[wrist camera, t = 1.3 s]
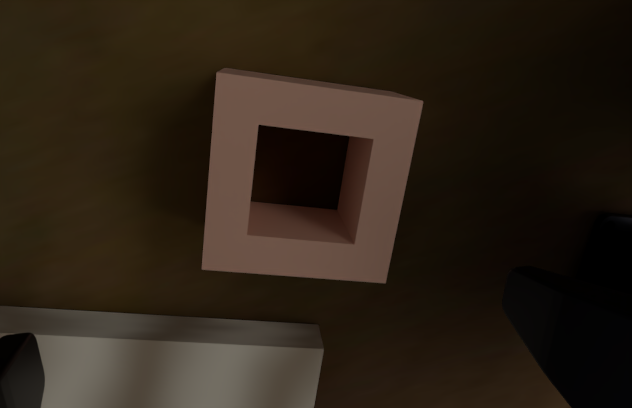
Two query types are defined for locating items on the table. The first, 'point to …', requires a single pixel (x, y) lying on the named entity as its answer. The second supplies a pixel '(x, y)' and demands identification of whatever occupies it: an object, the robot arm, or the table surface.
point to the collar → (297, 221)
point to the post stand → (169, 360)
